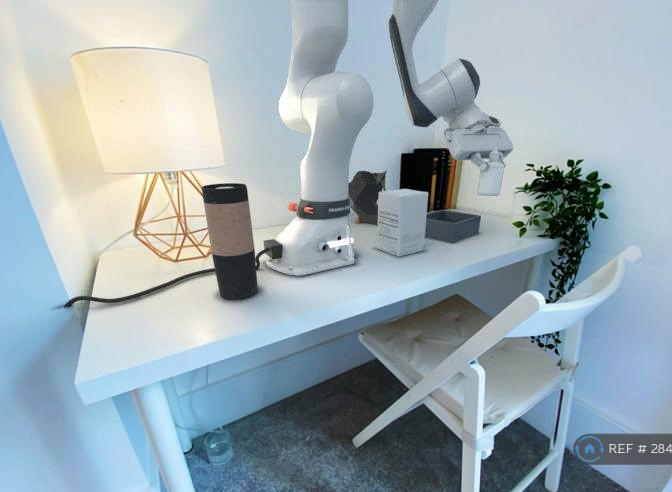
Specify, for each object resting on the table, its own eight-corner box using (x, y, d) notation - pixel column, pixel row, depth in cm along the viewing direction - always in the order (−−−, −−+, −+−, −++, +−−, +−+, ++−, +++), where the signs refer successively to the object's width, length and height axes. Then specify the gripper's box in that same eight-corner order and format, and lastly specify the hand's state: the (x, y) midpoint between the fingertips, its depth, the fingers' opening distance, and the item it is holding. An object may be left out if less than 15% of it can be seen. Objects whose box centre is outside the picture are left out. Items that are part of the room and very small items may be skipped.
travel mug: (210, 294, 65) (190, 186, 57) (240, 281, 71) (227, 182, 63) (237, 304, 61) (220, 190, 53) (267, 289, 67) (256, 184, 59)
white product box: (400, 243, 95) (404, 188, 89) (424, 251, 88) (430, 191, 82) (375, 248, 91) (377, 191, 85) (398, 257, 84) (402, 195, 78)
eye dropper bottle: (494, 197, 88) (502, 147, 83) (474, 194, 92) (481, 146, 87) (502, 195, 91) (510, 146, 86) (481, 193, 95) (489, 146, 90)
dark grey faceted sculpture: (366, 216, 129) (367, 166, 121) (399, 222, 118) (402, 168, 111) (339, 222, 120) (339, 168, 113) (372, 229, 110) (374, 171, 102)
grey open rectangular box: (452, 243, 95) (455, 223, 93) (413, 234, 104) (414, 216, 102) (478, 233, 104) (481, 215, 102) (440, 226, 113) (442, 209, 111)
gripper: (449, 118, 85) (474, 162, 81) (503, 119, 94) (528, 158, 90) (434, 138, 90) (457, 179, 86) (486, 137, 99) (510, 174, 95)
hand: (494, 169), depth 88 cm, fingers closed on eye dropper bottle, 5 cm apart
